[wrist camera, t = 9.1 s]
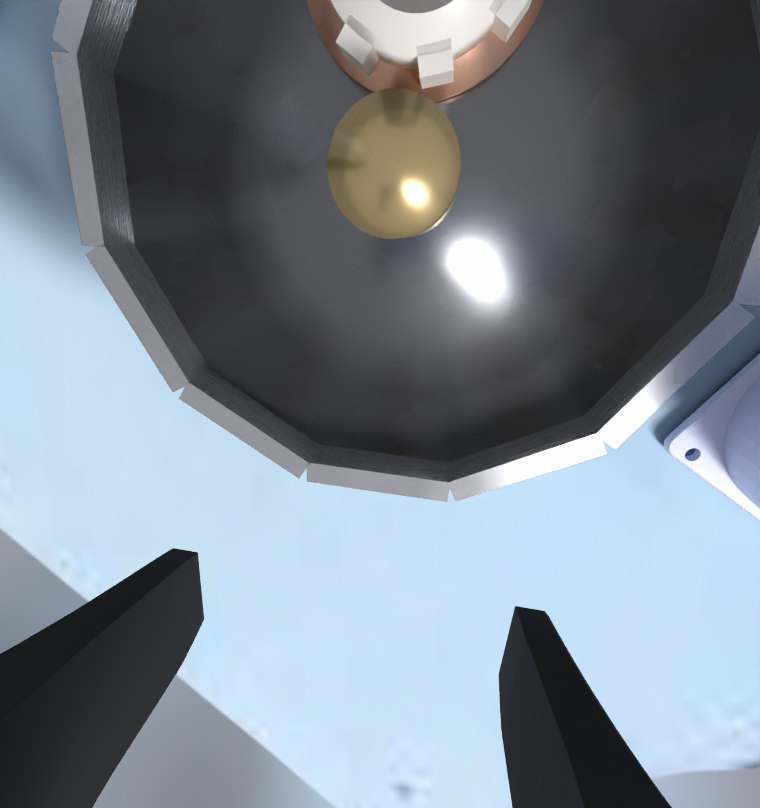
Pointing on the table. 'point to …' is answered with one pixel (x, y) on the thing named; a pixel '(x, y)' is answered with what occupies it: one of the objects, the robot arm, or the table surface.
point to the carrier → (419, 225)
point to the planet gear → (422, 32)
